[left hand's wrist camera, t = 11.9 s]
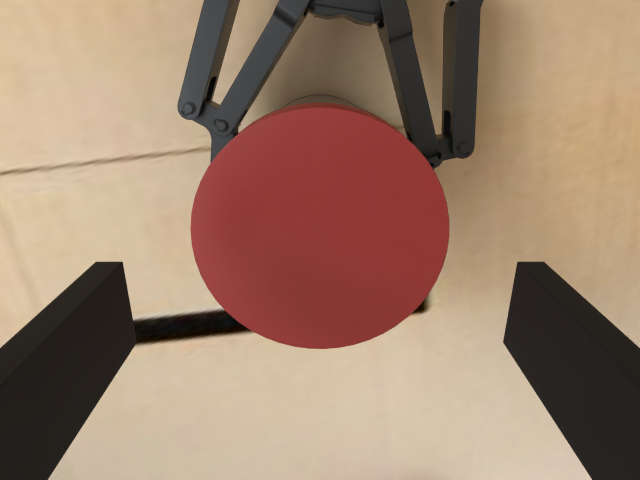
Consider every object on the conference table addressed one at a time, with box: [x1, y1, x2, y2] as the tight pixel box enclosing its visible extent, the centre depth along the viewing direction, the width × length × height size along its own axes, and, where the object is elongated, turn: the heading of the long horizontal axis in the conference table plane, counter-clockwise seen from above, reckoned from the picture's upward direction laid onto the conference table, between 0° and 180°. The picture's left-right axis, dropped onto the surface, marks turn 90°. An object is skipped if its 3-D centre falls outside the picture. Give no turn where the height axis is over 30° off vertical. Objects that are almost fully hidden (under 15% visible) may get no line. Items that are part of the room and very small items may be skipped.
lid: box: [191, 102, 449, 349], centre depth 19 cm, size 10×10×2 cm
